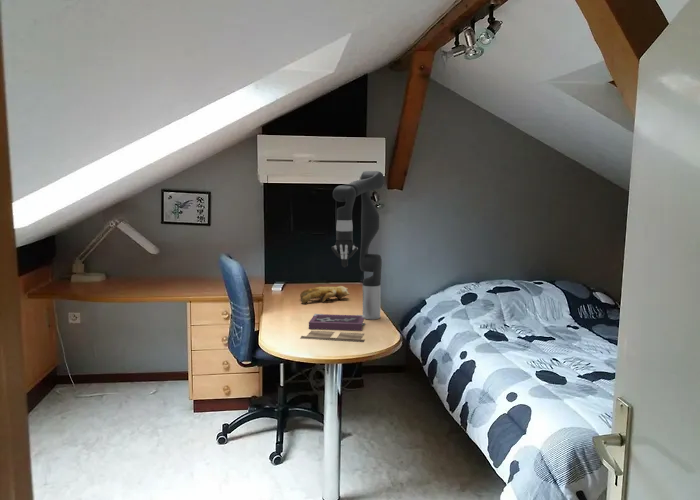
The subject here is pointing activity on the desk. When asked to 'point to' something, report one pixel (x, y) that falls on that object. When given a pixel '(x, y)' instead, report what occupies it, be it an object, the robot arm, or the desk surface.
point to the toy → (323, 293)
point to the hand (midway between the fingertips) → (344, 266)
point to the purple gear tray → (337, 322)
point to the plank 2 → (350, 335)
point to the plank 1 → (320, 333)
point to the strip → (332, 339)
